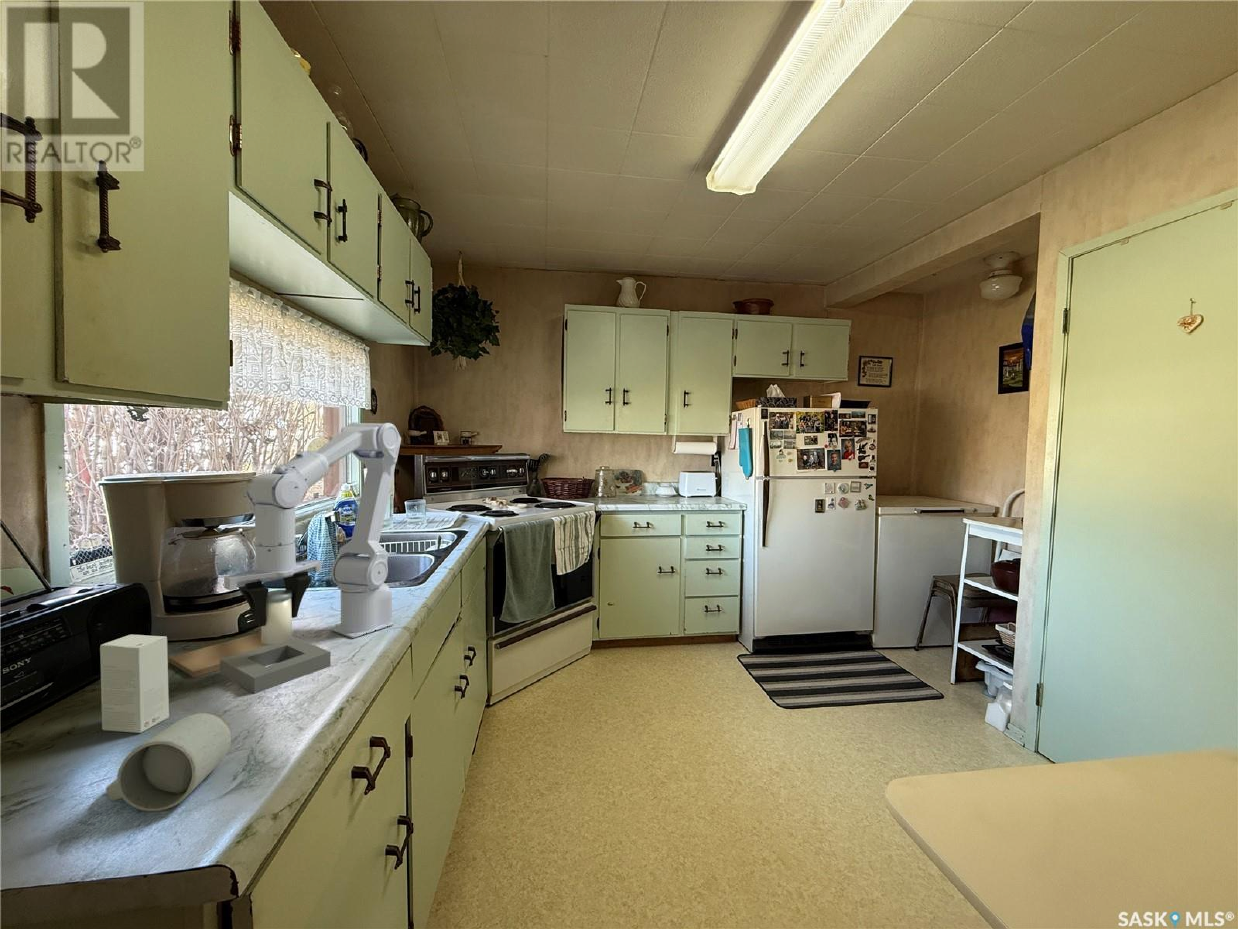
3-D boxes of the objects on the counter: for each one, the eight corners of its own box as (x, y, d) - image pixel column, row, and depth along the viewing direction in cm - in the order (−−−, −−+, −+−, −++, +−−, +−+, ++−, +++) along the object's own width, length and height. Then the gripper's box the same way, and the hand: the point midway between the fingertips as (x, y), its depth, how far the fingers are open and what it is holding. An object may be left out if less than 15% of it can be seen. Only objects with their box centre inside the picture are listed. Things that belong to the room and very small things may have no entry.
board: (258, 637, 102) (258, 632, 102) (283, 649, 97) (283, 644, 97) (169, 662, 90) (169, 657, 90) (193, 677, 85) (193, 671, 85)
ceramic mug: (237, 762, 64) (236, 702, 63) (195, 808, 56) (193, 740, 55) (141, 771, 62) (138, 709, 62) (83, 820, 54) (79, 750, 54)
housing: (295, 649, 97) (294, 637, 97) (330, 665, 91) (330, 652, 91) (220, 673, 87) (220, 659, 86) (254, 693, 80) (254, 678, 80)
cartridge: (284, 632, 92) (283, 588, 91) (297, 637, 89) (297, 592, 89) (255, 640, 88) (254, 594, 87) (268, 646, 85) (268, 599, 85)
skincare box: (170, 717, 73) (169, 636, 73) (139, 734, 69) (138, 648, 68) (132, 714, 74) (130, 633, 73) (99, 731, 70) (97, 645, 69)
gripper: (238, 554, 79) (239, 639, 80) (331, 539, 92) (331, 613, 92) (217, 548, 83) (218, 629, 84) (309, 534, 95) (310, 606, 96)
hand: (276, 620), depth 88 cm, fingers closed on cartridge, 4 cm apart
